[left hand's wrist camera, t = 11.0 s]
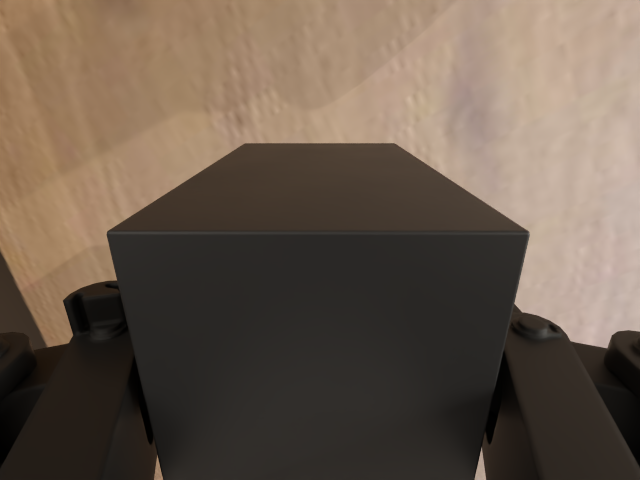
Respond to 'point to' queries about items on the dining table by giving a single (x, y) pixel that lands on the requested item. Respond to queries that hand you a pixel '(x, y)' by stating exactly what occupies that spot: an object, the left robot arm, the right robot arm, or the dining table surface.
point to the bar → (318, 315)
